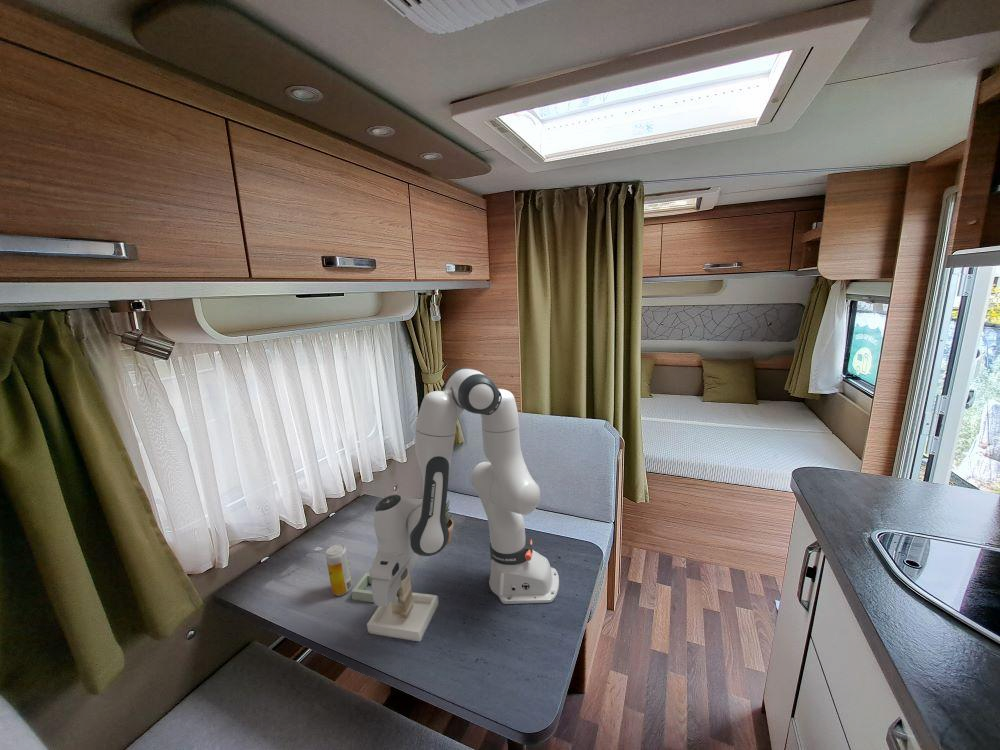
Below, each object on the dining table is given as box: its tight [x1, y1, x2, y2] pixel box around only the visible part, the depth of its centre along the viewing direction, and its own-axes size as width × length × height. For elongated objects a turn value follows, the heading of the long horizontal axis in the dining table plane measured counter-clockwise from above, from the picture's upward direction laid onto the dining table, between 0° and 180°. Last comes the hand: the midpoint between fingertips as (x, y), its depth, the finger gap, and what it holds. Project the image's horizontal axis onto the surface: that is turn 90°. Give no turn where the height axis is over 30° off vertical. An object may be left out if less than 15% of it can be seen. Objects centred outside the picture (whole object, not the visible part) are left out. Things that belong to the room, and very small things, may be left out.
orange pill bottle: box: [325, 543, 353, 597], centre depth 123 cm, size 6×6×15 cm
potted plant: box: [445, 499, 454, 546], centre depth 143 cm, size 10×10×25 cm
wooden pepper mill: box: [391, 568, 413, 618], centre depth 110 cm, size 5×5×13 cm
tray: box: [366, 592, 440, 642], centre depth 111 cm, size 16×13×3 cm
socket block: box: [350, 572, 374, 603], centre depth 123 cm, size 8×8×3 cm
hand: (401, 594), depth 110 cm, fingers closed on wooden pepper mill, 4 cm apart
